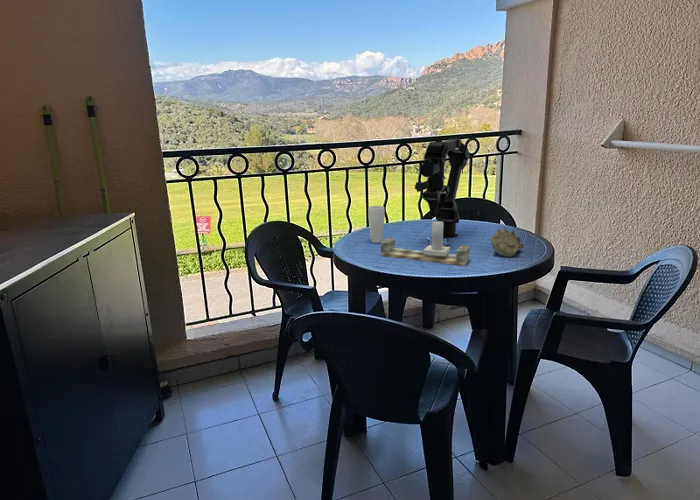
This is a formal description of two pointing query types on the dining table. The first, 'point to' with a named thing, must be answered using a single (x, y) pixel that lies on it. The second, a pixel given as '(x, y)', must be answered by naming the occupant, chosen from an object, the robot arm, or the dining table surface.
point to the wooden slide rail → (391, 251)
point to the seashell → (506, 243)
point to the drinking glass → (376, 223)
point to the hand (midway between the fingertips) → (435, 212)
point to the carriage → (437, 241)
